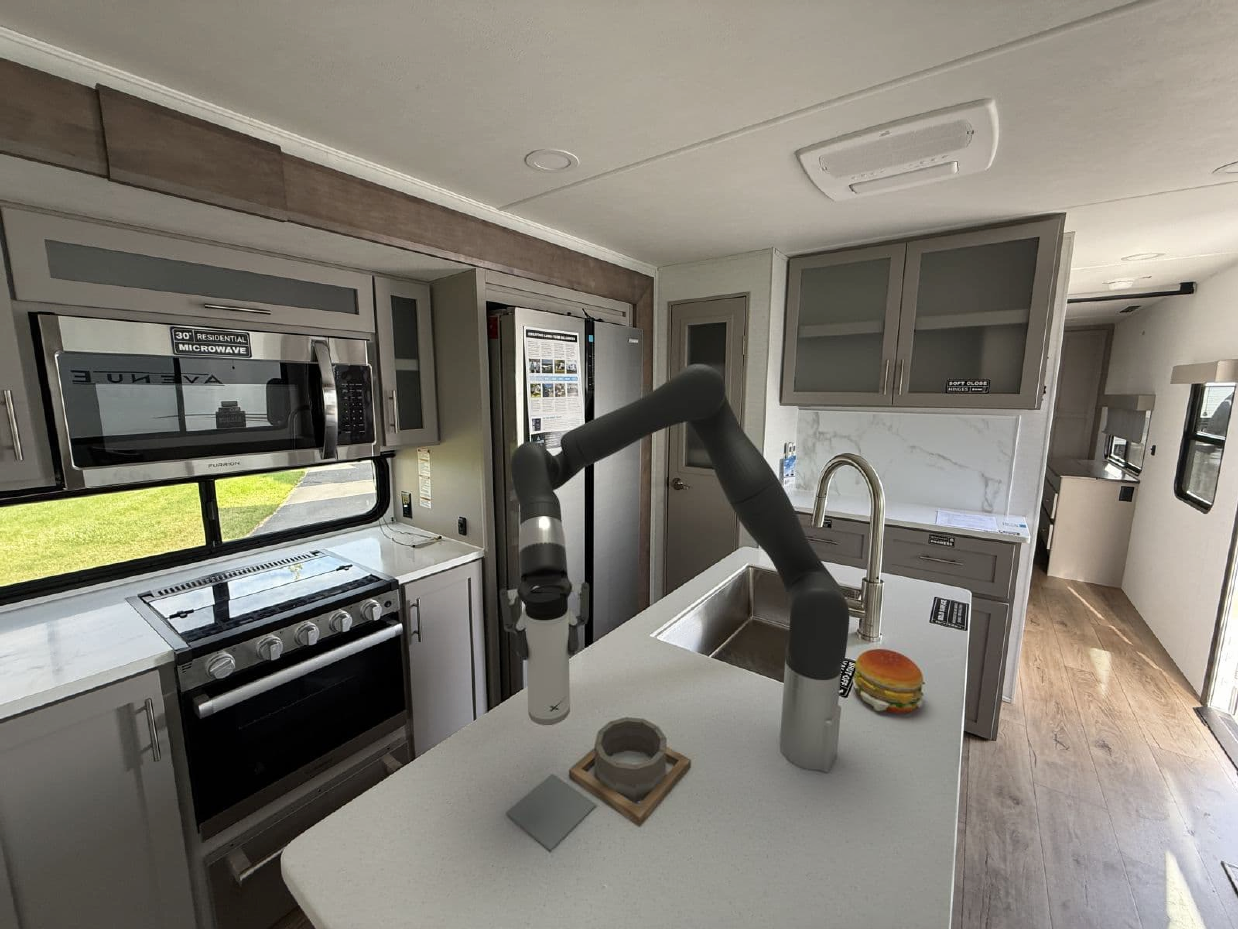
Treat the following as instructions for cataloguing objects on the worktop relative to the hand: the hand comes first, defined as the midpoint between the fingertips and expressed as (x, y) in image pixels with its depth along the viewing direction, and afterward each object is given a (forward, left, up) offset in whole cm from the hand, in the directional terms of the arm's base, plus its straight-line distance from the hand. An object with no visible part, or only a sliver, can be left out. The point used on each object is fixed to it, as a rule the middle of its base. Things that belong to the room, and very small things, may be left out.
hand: (548, 656), depth 73 cm
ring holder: (-4, -15, -27) cm, 31 cm away
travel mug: (+1, -1, -11) cm, 11 cm away
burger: (-34, -65, -28) cm, 78 cm away
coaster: (+1, -1, -27) cm, 27 cm away
